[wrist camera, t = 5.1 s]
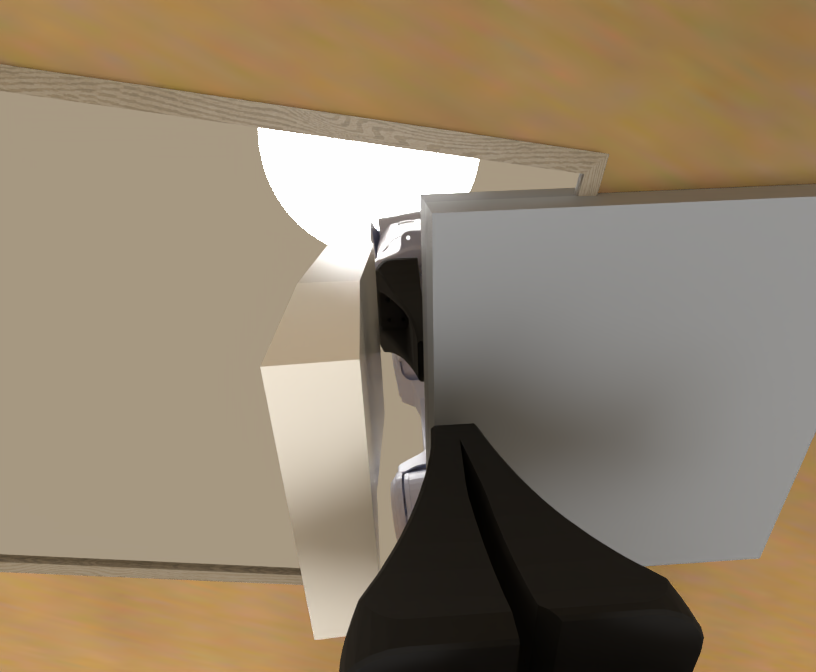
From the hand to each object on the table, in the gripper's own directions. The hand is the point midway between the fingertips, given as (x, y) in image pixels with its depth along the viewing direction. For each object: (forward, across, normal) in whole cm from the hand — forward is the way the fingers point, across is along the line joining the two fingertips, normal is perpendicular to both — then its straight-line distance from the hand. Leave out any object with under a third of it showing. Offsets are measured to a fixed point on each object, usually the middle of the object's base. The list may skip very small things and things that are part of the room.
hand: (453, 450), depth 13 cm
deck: (+3, -6, 0) cm, 7 cm away
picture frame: (+4, +10, -1) cm, 11 cm away
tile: (0, +2, 0) cm, 3 cm away
